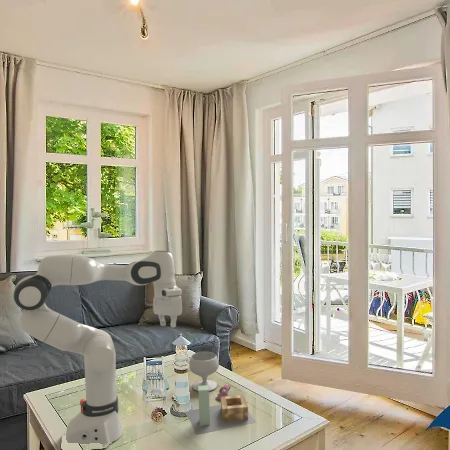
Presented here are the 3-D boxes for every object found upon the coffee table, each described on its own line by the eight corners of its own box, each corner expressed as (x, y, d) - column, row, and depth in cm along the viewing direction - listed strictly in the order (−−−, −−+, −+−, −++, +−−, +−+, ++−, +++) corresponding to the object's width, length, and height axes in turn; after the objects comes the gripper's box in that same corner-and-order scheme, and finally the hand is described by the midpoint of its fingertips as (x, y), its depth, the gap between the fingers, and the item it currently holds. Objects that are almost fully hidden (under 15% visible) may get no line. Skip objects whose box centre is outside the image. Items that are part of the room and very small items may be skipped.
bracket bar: (199, 425, 158) (198, 390, 157) (199, 420, 162) (198, 385, 161) (210, 424, 158) (208, 389, 158) (209, 419, 162) (208, 385, 161)
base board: (196, 438, 152) (196, 434, 152) (186, 414, 169) (186, 411, 169) (256, 425, 159) (256, 421, 159) (240, 404, 177) (240, 400, 176)
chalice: (219, 393, 187) (218, 361, 186) (188, 394, 187) (187, 362, 187) (219, 379, 201) (218, 350, 200) (191, 380, 201) (190, 350, 201)
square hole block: (223, 421, 161) (222, 408, 160) (221, 408, 171) (220, 396, 170) (248, 419, 162) (247, 407, 161) (244, 406, 172) (244, 395, 171)
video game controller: (223, 407, 178) (229, 393, 177) (213, 401, 178) (220, 388, 177) (227, 396, 187) (233, 383, 186) (218, 391, 188) (224, 378, 187)
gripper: (148, 292, 169) (150, 326, 168) (168, 291, 152) (171, 329, 151) (162, 290, 173) (164, 323, 171) (183, 290, 156) (186, 327, 154)
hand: (168, 326), depth 161 cm, fingers open, 8 cm apart
